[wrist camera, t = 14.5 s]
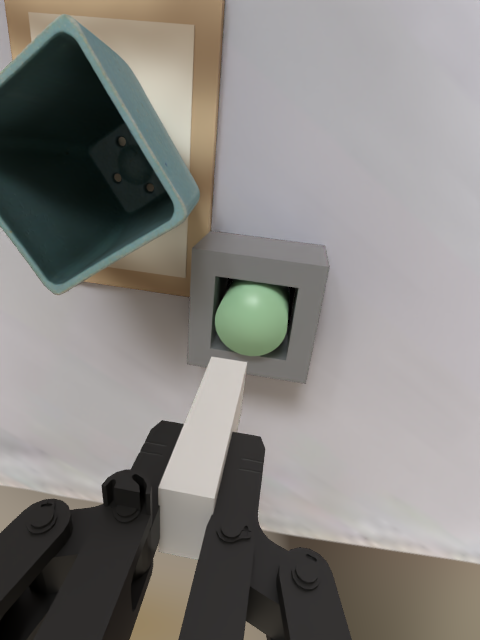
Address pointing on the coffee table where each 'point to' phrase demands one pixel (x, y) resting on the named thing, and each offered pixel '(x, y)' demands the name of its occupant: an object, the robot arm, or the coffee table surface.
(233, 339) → the button
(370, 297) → the coffee table surface
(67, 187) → the flower pot
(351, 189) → the coffee table surface
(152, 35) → the board
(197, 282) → the button box
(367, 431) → the coffee table surface
